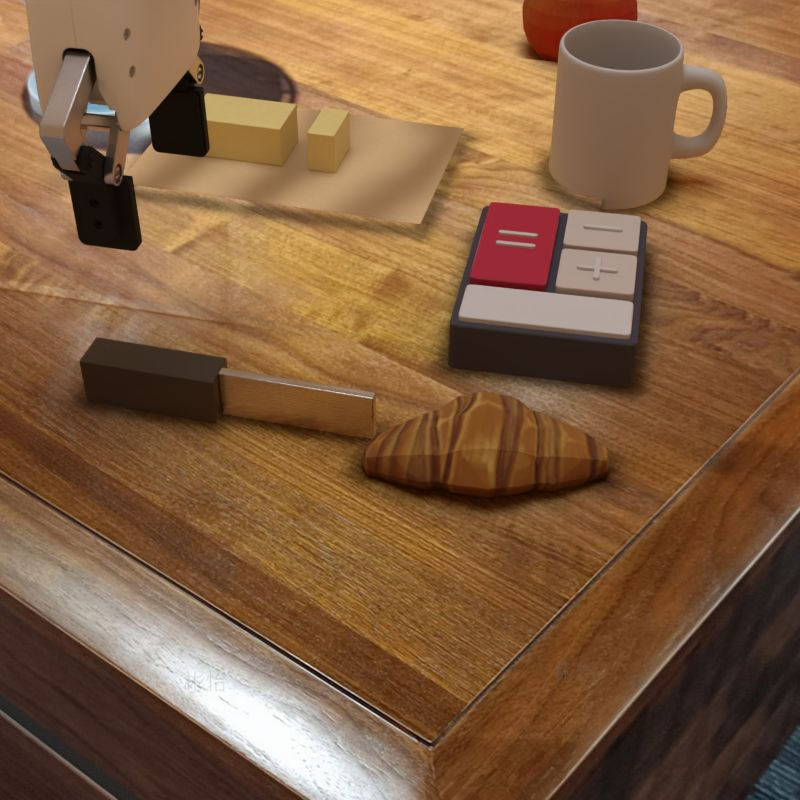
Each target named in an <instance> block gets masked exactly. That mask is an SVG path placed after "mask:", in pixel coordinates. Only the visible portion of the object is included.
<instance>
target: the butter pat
mask: <svg viewBox="0 0 800 800" xmlns="http://www.w3.org/2000/svg"><path fill="white" fill-rule="evenodd" d="M320 111H321V112H320V113H319V115H318V117H317V118H316V120H315V121H314V123H313V124H312V126H311V127H310V129H309V131H308V132H307V143H308V164H309V170H314V171H321V172H329V173H335V172H336V171H337V169H338V167H339V166H340V164H341V162H342V160H343V159H344V157H345V155H346V153H347V152H348V150H349V148H350V110H348V109H340V108H332V107H322V109H321V110H320Z"/></svg>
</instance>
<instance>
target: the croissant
mask: <svg viewBox="0 0 800 800" xmlns="http://www.w3.org/2000/svg"><path fill="white" fill-rule="evenodd" d="M360 460H361V462H362V465H363V466H362V467H363V469H364V471H365V474H366V476H367V477H368V476H369V477H372V478H375V479H378V480H381V481H385V482H387V483H390V484H394V485H398V486H402V487H407V488H411V489H415V490H418V491H441V492H446V493H450V494H453V495H458V496H464V497H465V496H466V497H471V498H472V497H473V498H478V499H485V500H487V499H496V498H504V497H513V496H519V495H523V494H528V493H532V492H539V493H540V492H541V493H554V492H558V491H562V490H567V489H572V488H576V487H577V488H578V487H580V486H584V485H587V484H590V483H594V482H597V481H601V480H604V479H606V477H607V475H608V472H609V470H610V466H611V460H610V455H609V451H608V449H607V447H606V445H605V444H604V443H602V442H600V441H599V440H597V439H595V438H594V437H593V436H591V435H589V434H588V433H586V432H585V431H583V430H582V429H580V428H578V427H575V426H573V425H570V424H568V423H566V422H564V421H561V420H559V419H557V418H554V417H552V416H550V415H548V414H545V413H542V412H539V411H536V410H534V409H531V408H530V407H529V406H528V405H526V404H525V403H524V402H522V401H521V400H520V399H519V398H517V397H515V396H511V395H506V394H501V393H496V392H493V391H487V390H486V391H479V392H475V393H468V394H464V395H457V396H456V397H455V398H453V399H451V400H450V401H449V402H448V403H446V404H445V405H443V406H442V407H440V408H439V409H435V410H432V411H429V412H425V413H422V414H420V415H418V416H416V417H413V418H410V419H408V420H406V421H403V422H401V423H399V424H396V425H394V426H392V427H390V428H388V429H386V430H384V431H382V432H381V433H379V434H378V435H375V438H373V439H369V440H368V441H367V442H366V444H365V446H364V450H363V453H362V456H361V459H360Z"/></svg>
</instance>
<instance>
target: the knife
mask: <svg viewBox="0 0 800 800" xmlns="http://www.w3.org/2000/svg"><path fill="white" fill-rule="evenodd" d="M79 366H80V372H81V377H82V378H81V379H82V382H83V383H82V384H83V387H84V394H85V399H86V402H88V403H93V404H99V405H106V406H112V407H118V408H122V409H128V410H135V411H139V412H147V413H153V414H158V415H164V416H170V417H176V418H182V419H187V420H194V421H198V422H204V423H209V424H210V423H211V424H218V423H219V420H220V419H221V417H222V415H226V416H227V415H228V416H233V417H239V418H246V419H250V420H256V421H261V422H262V421H263V422H268V423H274V424H280V425H284V426H285V425H286V426H291V427H298V428H303V429H309V430H314V431H321V432H328V433H332V434H339V435H345V436H351V437H357V438H362V439H368V440H371V439H373V438H375V437H376V436H377V393H376V392H375V391H370V390H363V389H357V388H351V387H344V386H339V385H332V384H326V383H320V382H314V381H307V380H302V379H296V378H289V377H285V376H277V375H272V374H271V375H270V374H264V373H258V372H252V371H247V370H246V371H245V370H240V369H233V368H228V360H227V357H223V356H217V355H210V354H206V353H205V354H203V353H197V352H192V351H185V350H179V349H174V348H167V347H160V346H156V345H155V346H154V345H149V344H141V343H137V342H136V343H135V342H130V341H124V340H117V339H110V338H106V337H105V338H104V337H100V336H99V337H98V336H97V337H95V339H94V340H93V341H92V343H91V344H90V346H89V347H88V348H87V349H86V351H85V352H84V354H83V355H82V356H81V358H80V359H79Z"/></svg>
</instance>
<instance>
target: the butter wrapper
mask: <svg viewBox="0 0 800 800" xmlns="http://www.w3.org/2000/svg"><path fill="white" fill-rule="evenodd" d="M320 112H321V110H318V109H309V108H302V107H297V122H298V142H297V143H296V145H295V146H294V148H293V150H292V151H291V153H290V154H289V156H288V157H287V159H286V160H285V162H284V164H283V165H282V166H276V165H268V164H261V163H253V162H246V161H238V160H231V159H223V158H215V157H208V156H204V157H195V156H186V155H177V154H168V153H160V152H156V151H155V150H154V149H153V146H152V142H151V143H150V144H149V145H148V146H147V148H146V149H145V150H144V151H143V153H142V154H141V155H140V156H139V158H138V159H137V160H136V161H135V162H134V164H133V165H132V166H131V168H130V169H128V170H127V172H126V174H125V175H128V176H132V177H133V183H134V186H138V187H145V188H154V189H159V190H167V191H175V192H181V193H189V194H195V195H196V194H197V195H204V196H212V197H218V198H225V199H226V198H227V199H233V200H240V201H249V202H256V203H262V204H270V205H277V206H284V207H291V208H299V209H306V210H312V211H322V212H328V213H336V214H343V215H349V216H357V217H364V218H370V219H371V218H372V219H379V220H384V221H385V220H386V221H393V222H399V223H400V222H401V223H407V224H408V223H409V224H416V225H421V224H422V222H423V219H424V218H425V215H426V214H427V211H428V208H429V207H430V205H431V202H432V200H433V198H434V196H435V194H436V191H437V189H438V187H439V185H440V183H441V180H442V178H443V176H444V174H445V172H446V169H447V167H448V165H449V163H450V160H451V159H452V156H453V154H454V152H455V150H456V147H457V145H458V143H459V141H460V139H461V137H462V134H463V132H464V131H465V128H463V127H458V126H449V125H440V124H432V123H425V122H424V123H423V122H416V121H409V120H408V121H407V120H400V119H392V118H383V117H375V116H367V115H359V114H353V113H352V114H350V113H349V114H350V148H349V150H348V152H347V153H346V155H345V157H344V159H343V160H342V162H341V164H340V166H339V167H338V169H337V171H336V172H335V173H329V172H321V171H314V170H309V164H308V143H307V132H308V131H309V129H310V127H311V126H312V124H313V123H314V121H315V120H316V118H317V117H318V115H319V113H320Z"/></svg>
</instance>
